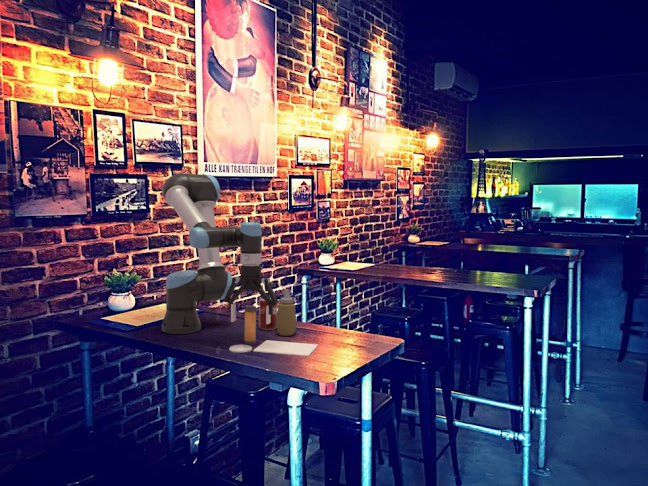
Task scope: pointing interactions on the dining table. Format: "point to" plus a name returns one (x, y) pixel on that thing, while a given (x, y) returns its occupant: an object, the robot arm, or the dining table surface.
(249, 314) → the thermos bottle
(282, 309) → the squeeze bottle
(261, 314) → the soda can
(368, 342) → the dining table surface
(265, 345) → the paper
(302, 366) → the dining table surface
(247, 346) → the coaster
